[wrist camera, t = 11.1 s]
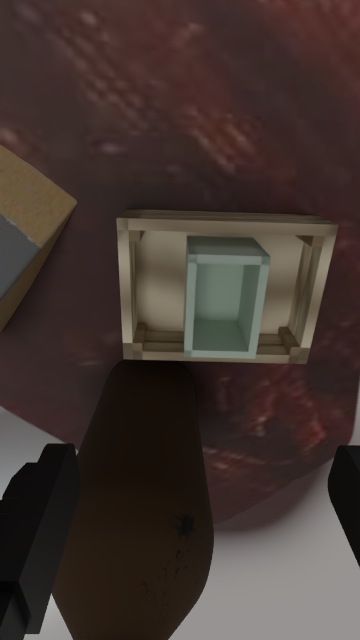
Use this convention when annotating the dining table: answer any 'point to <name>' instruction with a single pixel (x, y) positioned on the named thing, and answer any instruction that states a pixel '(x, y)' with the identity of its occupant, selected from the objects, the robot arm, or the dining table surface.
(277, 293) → the big crate
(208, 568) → the olive oil
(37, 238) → the sandwich container
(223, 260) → the box
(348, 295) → the dining table surface
